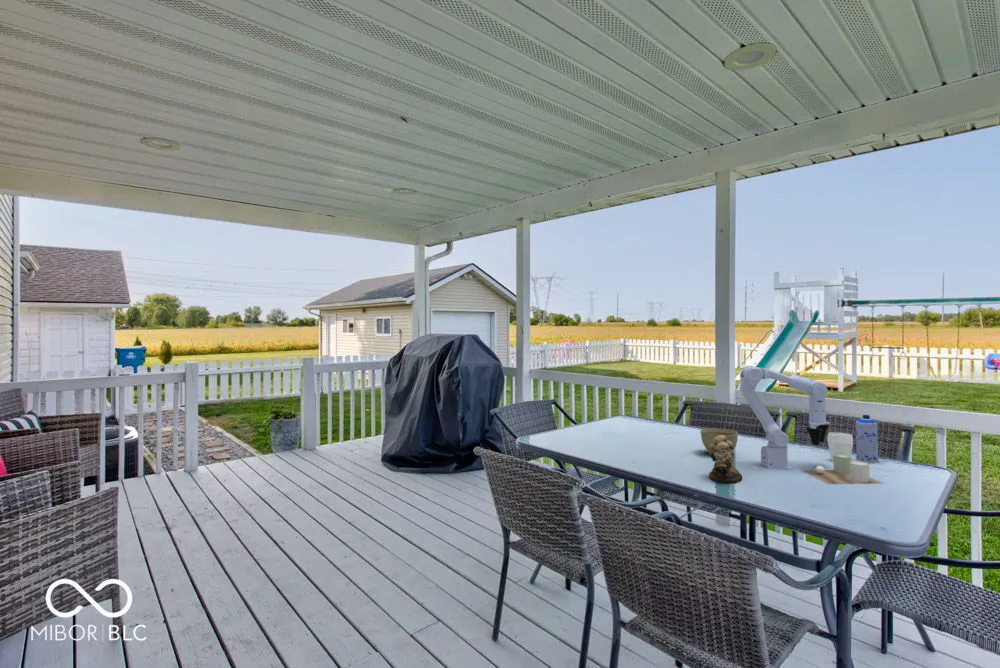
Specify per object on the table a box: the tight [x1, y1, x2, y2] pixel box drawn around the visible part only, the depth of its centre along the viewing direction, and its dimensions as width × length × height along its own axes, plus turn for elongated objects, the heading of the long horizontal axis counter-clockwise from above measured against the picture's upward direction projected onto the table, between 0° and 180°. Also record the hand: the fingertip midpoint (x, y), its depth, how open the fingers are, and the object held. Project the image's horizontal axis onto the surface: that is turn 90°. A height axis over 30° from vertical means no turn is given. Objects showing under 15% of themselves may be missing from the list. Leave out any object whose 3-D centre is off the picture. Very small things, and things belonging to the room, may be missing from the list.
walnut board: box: [800, 469, 885, 485], centre depth 184 cm, size 20×18×1 cm
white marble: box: [815, 465, 826, 474], centre depth 189 cm, size 3×3×3 cm
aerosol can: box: [855, 414, 880, 464], centre depth 206 cm, size 8×8×20 cm
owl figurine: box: [708, 435, 743, 485], centre depth 188 cm, size 18×12×17 cm, turn 150°
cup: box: [827, 431, 854, 462], centre depth 206 cm, size 9×9×12 cm
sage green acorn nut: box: [832, 454, 853, 474], centre depth 190 cm, size 6×6×7 cm
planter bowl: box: [699, 427, 739, 455], centre depth 223 cm, size 16×16×11 cm
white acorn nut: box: [850, 460, 871, 483], centre depth 179 cm, size 6×6×7 cm
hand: (818, 443), depth 197 cm, fingers open, 7 cm apart
